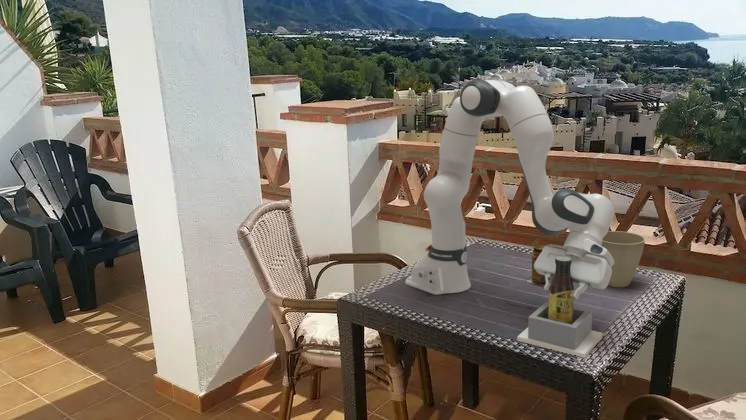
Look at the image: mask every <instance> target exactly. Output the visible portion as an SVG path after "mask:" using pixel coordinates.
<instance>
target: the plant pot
mask: <svg viewBox="0 0 746 420" xmlns="http://www.w3.org/2000/svg"><path fill="white" fill-rule="evenodd" d="M645 242H646V237H644V236H642V235H640V234H638V233H635V232H629V231H621V230H620V231H618V230H613V231H611V230H610V231H609V230H608V232H607V234H606V235H605V236H604V238H603V240H602V245H601V246H602V247H604V248H606V249H607V250H608V252H609V253H610V254H611V256H612V258H613V260H614V264H613V266H612V267H611V269H612V274H611V278H610V281H609V284H608V286H609V287H613V288H626V287H629V286H630V285H631V282H632V280H633V278H634V276H635V274H636V271H637V269H638V267H639V264H640V262H641V258H642V255H643V251H644V247H645Z"/></svg>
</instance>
